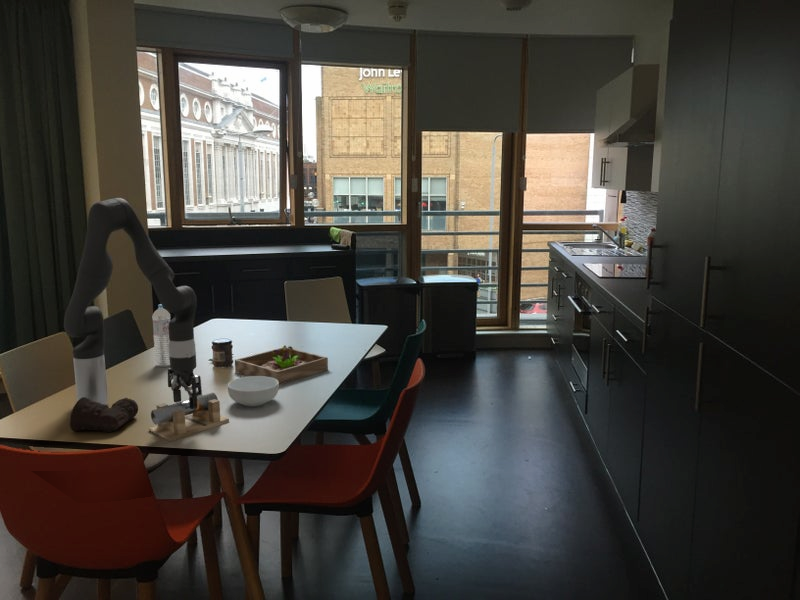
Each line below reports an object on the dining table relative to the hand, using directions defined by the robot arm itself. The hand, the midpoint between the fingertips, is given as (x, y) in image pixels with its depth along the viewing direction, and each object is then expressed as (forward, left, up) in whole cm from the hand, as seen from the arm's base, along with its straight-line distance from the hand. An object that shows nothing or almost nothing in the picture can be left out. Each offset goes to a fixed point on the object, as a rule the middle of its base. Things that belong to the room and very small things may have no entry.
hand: (185, 405), depth 194 cm
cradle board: (0, +1, -7) cm, 7 cm away
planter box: (-23, +57, -7) cm, 62 cm away
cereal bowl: (-2, +27, -7) cm, 28 cm away
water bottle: (-66, +32, -7) cm, 73 cm away
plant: (-22, +58, -8) cm, 62 cm away
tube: (0, 0, -3) cm, 3 cm away
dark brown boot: (-20, -15, -8) cm, 26 cm away
